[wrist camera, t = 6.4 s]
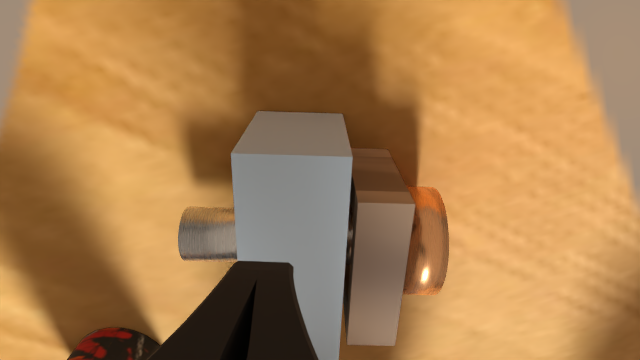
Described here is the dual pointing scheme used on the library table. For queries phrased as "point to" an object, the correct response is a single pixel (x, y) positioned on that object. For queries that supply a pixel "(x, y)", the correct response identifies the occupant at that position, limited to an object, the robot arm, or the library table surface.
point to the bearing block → (297, 209)
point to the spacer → (376, 248)
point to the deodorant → (114, 345)
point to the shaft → (424, 250)
